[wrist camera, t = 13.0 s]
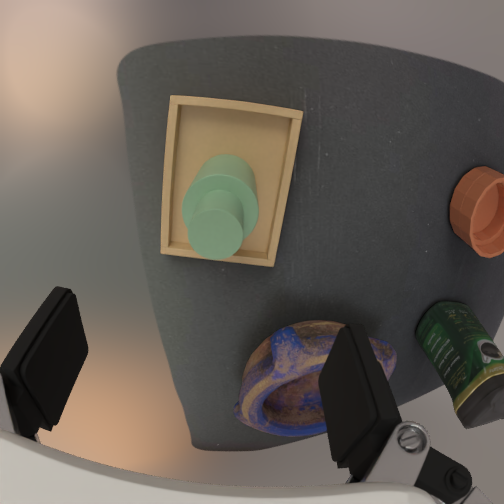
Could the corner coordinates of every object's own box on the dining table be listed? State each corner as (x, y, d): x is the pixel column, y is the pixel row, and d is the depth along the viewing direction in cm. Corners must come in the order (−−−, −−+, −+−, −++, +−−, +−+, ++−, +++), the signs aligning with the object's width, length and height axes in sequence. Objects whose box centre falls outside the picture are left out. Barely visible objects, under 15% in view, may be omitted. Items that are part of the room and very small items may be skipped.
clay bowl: (460, 155, 29) (486, 166, 24) (508, 176, 30) (533, 189, 25) (436, 232, 33) (458, 252, 29) (486, 243, 34) (507, 261, 30)
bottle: (199, 150, 28) (172, 186, 18) (259, 158, 29) (268, 197, 18) (194, 206, 31) (168, 269, 20) (250, 213, 31) (254, 279, 21)
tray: (175, 95, 26) (170, 95, 24) (299, 110, 27) (303, 111, 25) (164, 244, 33) (160, 253, 31) (272, 257, 34) (273, 267, 32)
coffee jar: (405, 338, 41) (455, 442, 25) (431, 294, 37) (500, 398, 21) (449, 341, 42) (499, 429, 26) (474, 302, 39) (537, 388, 22)
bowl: (329, 395, 46) (341, 447, 38) (222, 375, 43) (219, 434, 34) (394, 314, 39) (423, 368, 30) (271, 277, 35) (279, 339, 27)
